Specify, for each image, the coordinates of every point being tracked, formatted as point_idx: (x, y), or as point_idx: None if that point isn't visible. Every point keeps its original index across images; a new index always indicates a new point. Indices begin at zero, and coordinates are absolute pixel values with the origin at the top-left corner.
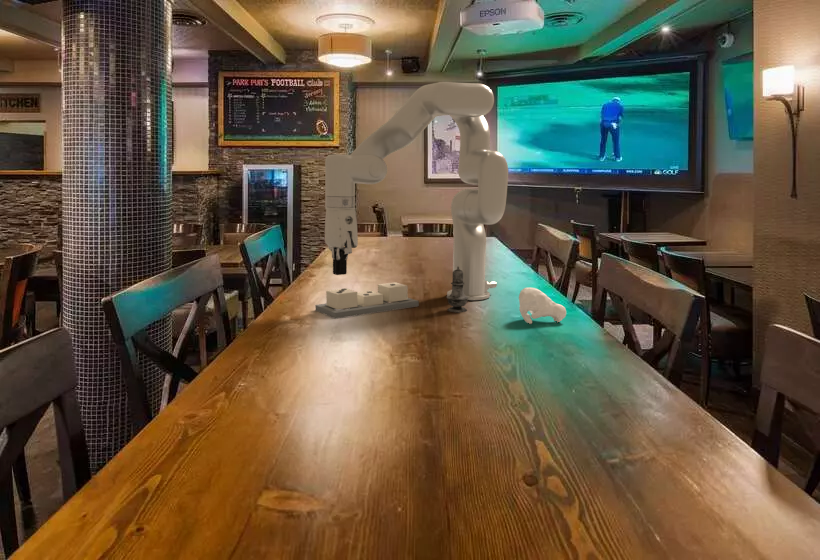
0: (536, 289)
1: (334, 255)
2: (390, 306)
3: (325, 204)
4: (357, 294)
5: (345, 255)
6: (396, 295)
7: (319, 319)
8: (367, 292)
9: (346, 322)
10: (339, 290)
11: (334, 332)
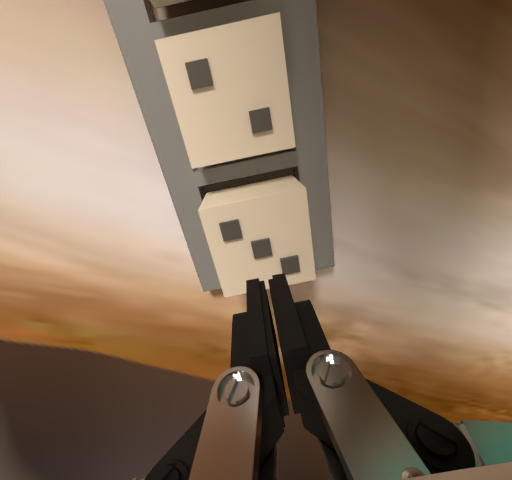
0: None
1: (275, 458)
2: (314, 8)
3: None
4: (232, 158)
5: (401, 415)
6: None
7: (315, 293)
8: (200, 88)
9: (384, 240)
10: (258, 257)
11: (451, 290)
